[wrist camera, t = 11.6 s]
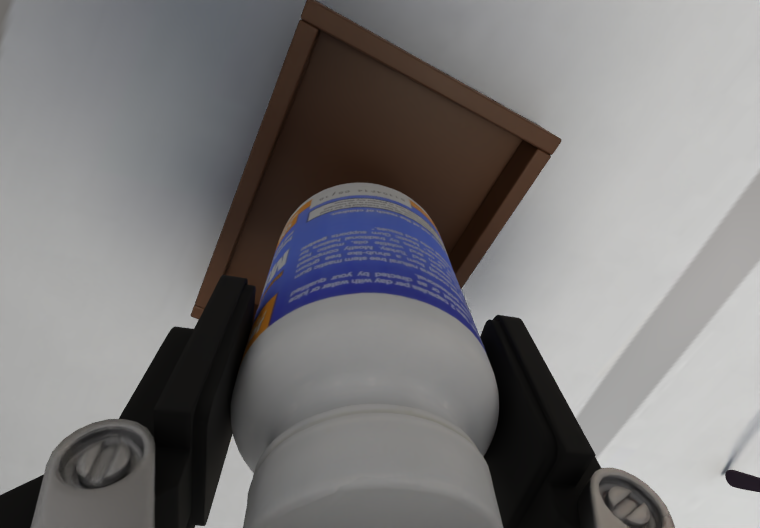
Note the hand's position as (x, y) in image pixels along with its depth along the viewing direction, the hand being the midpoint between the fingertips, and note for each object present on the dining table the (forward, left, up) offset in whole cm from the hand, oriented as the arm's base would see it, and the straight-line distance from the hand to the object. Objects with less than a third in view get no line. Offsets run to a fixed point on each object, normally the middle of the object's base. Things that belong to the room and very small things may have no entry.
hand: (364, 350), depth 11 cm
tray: (0, 0, -8) cm, 8 cm away
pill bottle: (0, 0, -5) cm, 5 cm away
